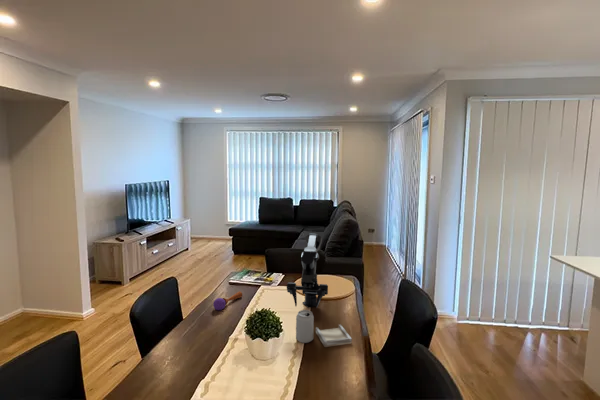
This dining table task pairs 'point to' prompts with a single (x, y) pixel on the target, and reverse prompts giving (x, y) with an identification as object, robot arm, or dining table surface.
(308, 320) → the can
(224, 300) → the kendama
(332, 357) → the dining table surface
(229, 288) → the dining table surface
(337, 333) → the rail dock
